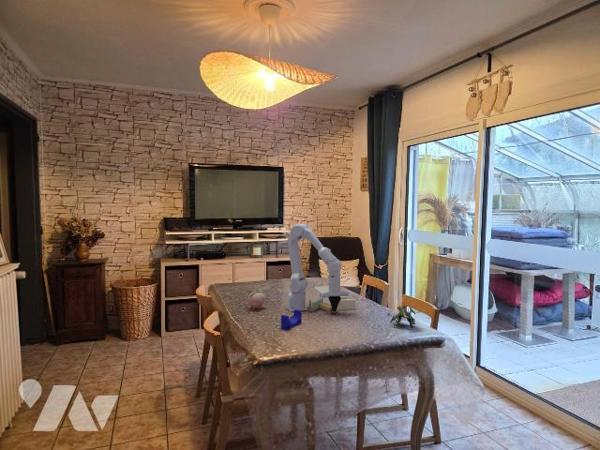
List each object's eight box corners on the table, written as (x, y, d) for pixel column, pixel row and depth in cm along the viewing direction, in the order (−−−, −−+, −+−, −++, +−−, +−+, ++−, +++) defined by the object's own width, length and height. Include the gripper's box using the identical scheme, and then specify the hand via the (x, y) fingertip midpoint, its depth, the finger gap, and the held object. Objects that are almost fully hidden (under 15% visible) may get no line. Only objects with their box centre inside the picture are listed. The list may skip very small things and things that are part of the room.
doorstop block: (330, 313, 191) (330, 308, 191) (319, 308, 200) (319, 303, 200) (336, 312, 193) (336, 307, 193) (325, 307, 202) (325, 302, 202)
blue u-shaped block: (293, 321, 178) (293, 308, 178) (301, 323, 175) (301, 310, 175) (278, 328, 168) (278, 315, 167) (286, 330, 165) (286, 316, 165)
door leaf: (313, 311, 193) (313, 302, 193) (310, 311, 194) (310, 302, 194) (322, 306, 204) (323, 297, 204) (319, 305, 205) (320, 297, 205)
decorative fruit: (256, 305, 204) (256, 287, 203) (268, 308, 199) (268, 289, 199) (243, 309, 196) (243, 290, 196) (255, 312, 192) (256, 292, 191)
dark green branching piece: (410, 339, 171) (423, 322, 164) (388, 336, 169) (400, 318, 162) (403, 319, 180) (415, 302, 173) (382, 315, 178) (393, 298, 171)
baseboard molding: (326, 300, 219) (345, 299, 222) (326, 295, 219) (346, 294, 221) (311, 288, 249) (329, 288, 252) (311, 284, 249) (329, 283, 252)
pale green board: (309, 312, 192) (309, 300, 192) (308, 311, 193) (308, 300, 193) (355, 308, 200) (355, 297, 199) (354, 308, 201) (354, 297, 201)
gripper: (323, 286, 184) (323, 314, 185) (351, 284, 189) (351, 312, 189) (318, 283, 191) (318, 310, 192) (345, 282, 195) (345, 308, 196)
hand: (334, 311), depth 191 cm, fingers closed, pressing on doorstop block
